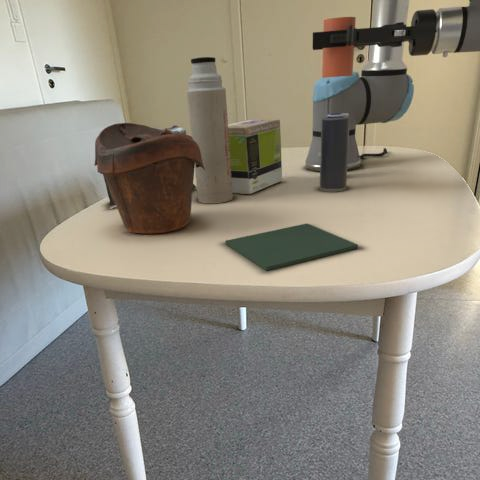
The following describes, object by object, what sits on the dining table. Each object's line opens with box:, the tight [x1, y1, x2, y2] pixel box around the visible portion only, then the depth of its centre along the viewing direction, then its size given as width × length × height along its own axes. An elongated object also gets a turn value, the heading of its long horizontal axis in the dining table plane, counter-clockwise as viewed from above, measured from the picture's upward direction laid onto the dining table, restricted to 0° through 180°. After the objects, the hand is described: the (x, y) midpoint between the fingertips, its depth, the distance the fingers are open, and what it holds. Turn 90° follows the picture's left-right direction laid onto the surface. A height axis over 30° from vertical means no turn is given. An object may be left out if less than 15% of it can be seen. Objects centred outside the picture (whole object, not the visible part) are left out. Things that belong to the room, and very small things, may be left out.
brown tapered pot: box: [93, 122, 206, 235], centre depth 82 cm, size 18×20×18 cm
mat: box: [225, 223, 359, 272], centre depth 71 cm, size 16×14×1 cm
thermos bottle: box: [186, 56, 234, 204], centre depth 95 cm, size 8×8×28 cm
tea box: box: [228, 119, 283, 195], centre depth 107 cm, size 15×10×15 cm, turn 145°
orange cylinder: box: [321, 16, 357, 78], centre depth 90 cm, size 6×6×10 cm
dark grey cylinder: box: [318, 117, 350, 193], centre depth 100 cm, size 6×6×15 cm
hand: (313, 41), depth 91 cm, fingers closed on orange cylinder, 6 cm apart
